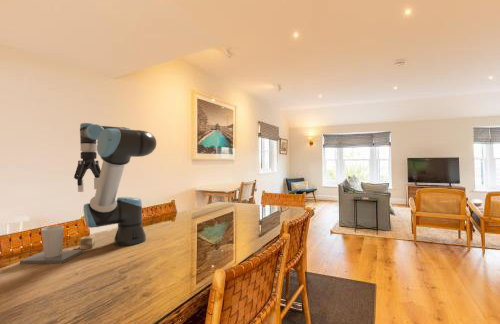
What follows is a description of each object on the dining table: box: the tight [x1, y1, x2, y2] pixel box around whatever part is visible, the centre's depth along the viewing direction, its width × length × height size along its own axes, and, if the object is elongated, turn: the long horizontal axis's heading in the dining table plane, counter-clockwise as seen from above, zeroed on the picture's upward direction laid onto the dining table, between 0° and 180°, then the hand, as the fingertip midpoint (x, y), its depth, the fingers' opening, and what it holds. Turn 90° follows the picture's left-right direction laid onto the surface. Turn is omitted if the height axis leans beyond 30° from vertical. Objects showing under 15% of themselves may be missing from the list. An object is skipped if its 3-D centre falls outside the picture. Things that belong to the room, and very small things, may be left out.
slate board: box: [19, 249, 84, 264], centre depth 117 cm, size 18×13×1 cm
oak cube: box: [79, 235, 96, 250], centre depth 131 cm, size 5×5×5 cm
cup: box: [41, 225, 65, 258], centre depth 117 cm, size 8×8×12 cm
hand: (89, 190), depth 145 cm, fingers open, 13 cm apart
